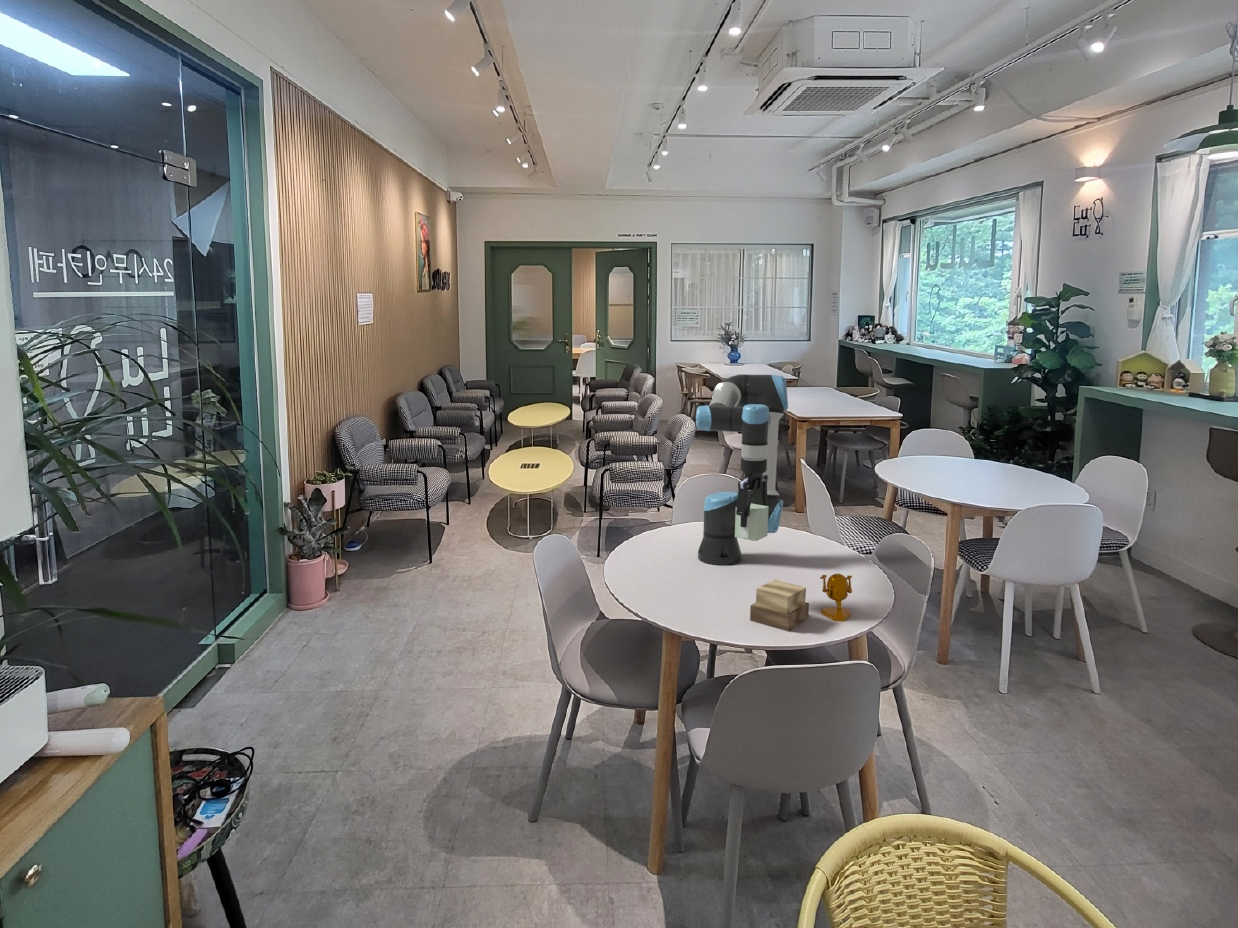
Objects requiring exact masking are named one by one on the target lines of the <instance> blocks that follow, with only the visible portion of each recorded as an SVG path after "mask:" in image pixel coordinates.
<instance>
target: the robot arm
mask: <svg viewBox="0 0 1238 928" xmlns="http://www.w3.org/2000/svg"><path fill="white" fill-rule="evenodd" d="M788 409H789V401H788V387H787V380H786V378H785V377H784V376H783V375H775V374H743V373H742V374H736V375H733V376H729V377H727V378H725V379H723V380H722V381H719V383H718V384H717V385H716V386H715V387H714V389H713V391H712V399H711V401H710V402H709V405H707V404H706V405H699V406H698V407H697V408H696V413H695V425H696V429H697V430H699V431H704V432H705V431H706V432H713V431H714V432H730V433H731V432H734V433H741V445H740V449H741V451H740V452H741V454H740V456H741V459H740V471H741V472H743V474H744V476H743V480H742V481H741V480H739V481H738V482H737V487H738V490H737V491H738V492H735V491H721V492H719V491H718V492H714V493H711V494H709V495H707V496H705V499H704V503H703V504H704V506H703V532H702V533H703V535H702V536H703V537H702V538H701V539H702V540H701V542H700V545H699V547H698V551H697V558H698V560H699V561H701V562H703V563H705V564H708V565H709V564H710V565H716V566H725V565H734V564H737V563H739V562H741V561H742V551H741V550H742V549H741V547H740V544H739V539H738V537H735V516H736V514H737V515H739V516H741V520H740V537H743V538H749V534H750V516H748V515H749V511H750V506H751V503H752V504H757V505H763V506H769V509H768V533H767V534H775V533H777V532H778V530H779V526H780V522H781V517H782V512H783V506H784V500H783V499H780V493H779V492H778V491H777V490H776V481H777V465H778V464H777V459H778V443H779V441H778V440H779V439H778V437H779V423H780V419H781V418H782V417H784V414H785V413H784V411H787V410H788ZM736 507H737V510H736Z"/></svg>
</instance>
